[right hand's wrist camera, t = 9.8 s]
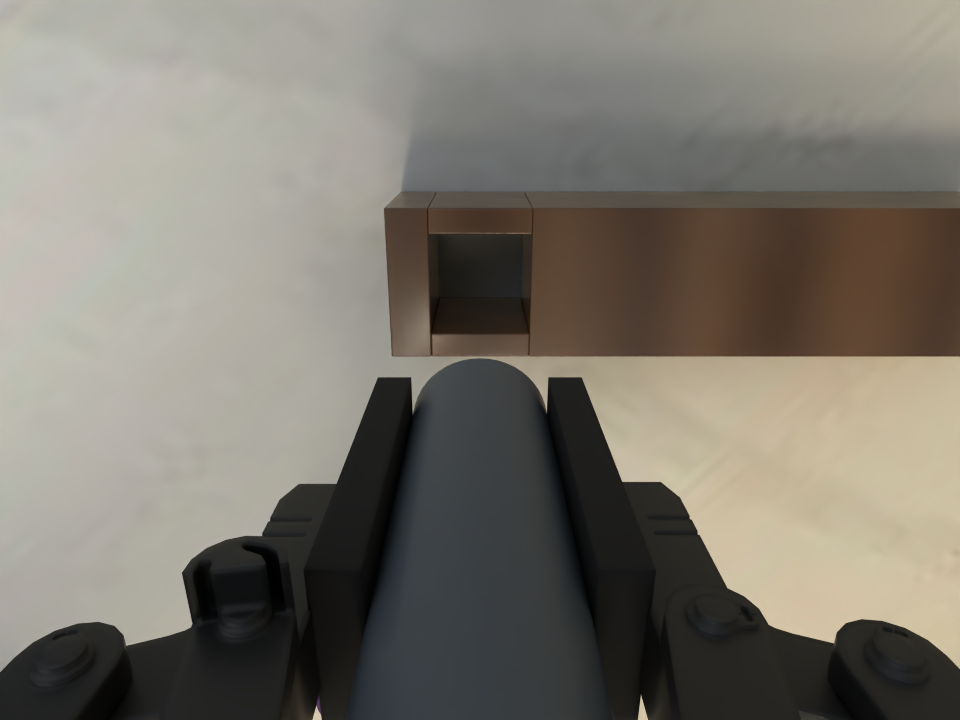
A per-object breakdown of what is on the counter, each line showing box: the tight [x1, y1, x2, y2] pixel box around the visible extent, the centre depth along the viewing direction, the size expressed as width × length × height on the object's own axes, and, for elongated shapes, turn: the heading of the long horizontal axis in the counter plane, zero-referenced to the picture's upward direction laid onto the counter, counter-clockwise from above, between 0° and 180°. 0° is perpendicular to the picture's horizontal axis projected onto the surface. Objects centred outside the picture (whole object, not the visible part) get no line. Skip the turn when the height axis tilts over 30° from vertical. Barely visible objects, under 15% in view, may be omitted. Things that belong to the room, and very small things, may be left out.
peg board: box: [384, 192, 960, 356], centre depth 30 cm, size 28×7×6 cm, turn 90°
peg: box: [344, 359, 615, 720], centre depth 10 cm, size 3×3×12 cm
